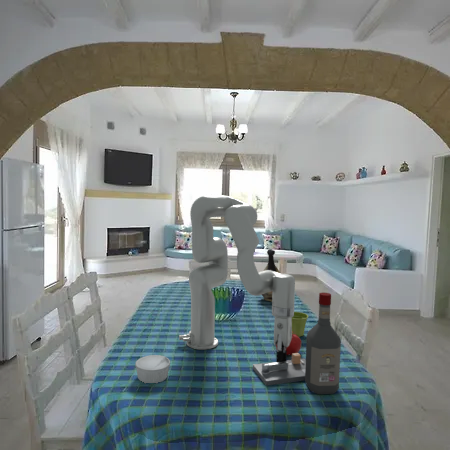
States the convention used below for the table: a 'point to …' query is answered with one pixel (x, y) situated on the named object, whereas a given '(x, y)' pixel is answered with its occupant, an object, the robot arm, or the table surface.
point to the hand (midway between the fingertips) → (281, 362)
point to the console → (282, 373)
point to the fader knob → (296, 358)
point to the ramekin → (152, 368)
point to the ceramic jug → (271, 267)
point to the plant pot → (299, 323)
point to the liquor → (323, 352)
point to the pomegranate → (293, 345)
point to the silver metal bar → (274, 366)
